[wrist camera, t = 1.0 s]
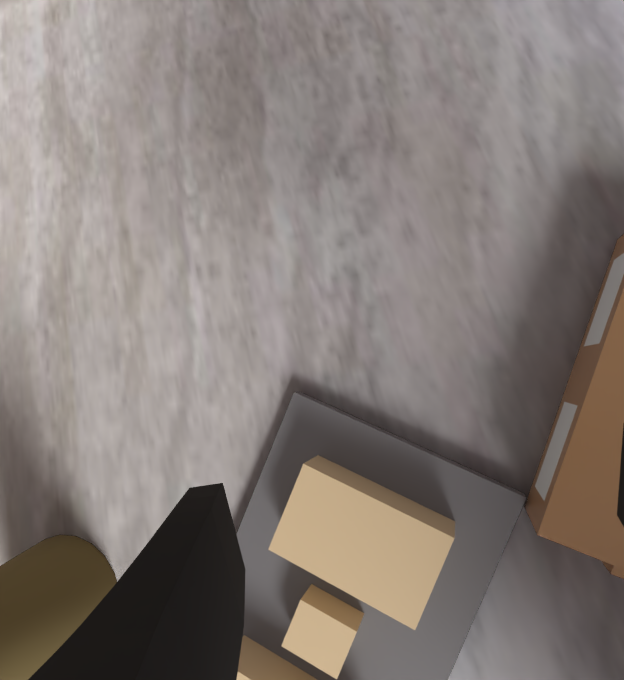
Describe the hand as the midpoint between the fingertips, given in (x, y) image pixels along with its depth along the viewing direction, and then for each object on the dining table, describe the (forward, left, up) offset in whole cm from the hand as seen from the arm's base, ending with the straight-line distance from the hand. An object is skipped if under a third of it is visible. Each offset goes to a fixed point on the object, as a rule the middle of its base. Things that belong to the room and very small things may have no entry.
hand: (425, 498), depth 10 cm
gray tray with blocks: (+1, +9, -13) cm, 16 cm away
